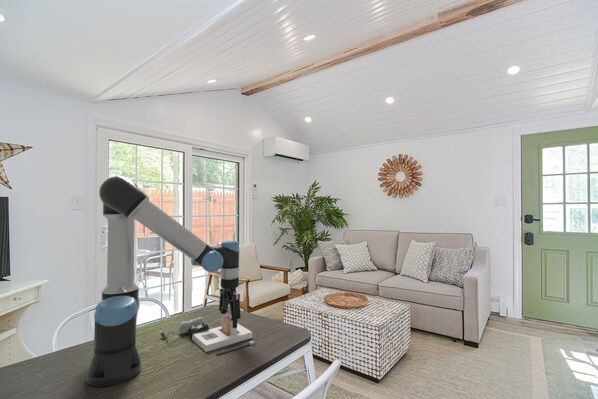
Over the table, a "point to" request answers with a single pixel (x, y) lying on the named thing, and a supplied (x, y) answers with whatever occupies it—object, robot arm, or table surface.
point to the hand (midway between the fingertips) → (229, 332)
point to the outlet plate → (219, 338)
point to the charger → (226, 325)
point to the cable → (236, 347)
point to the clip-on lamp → (190, 327)
